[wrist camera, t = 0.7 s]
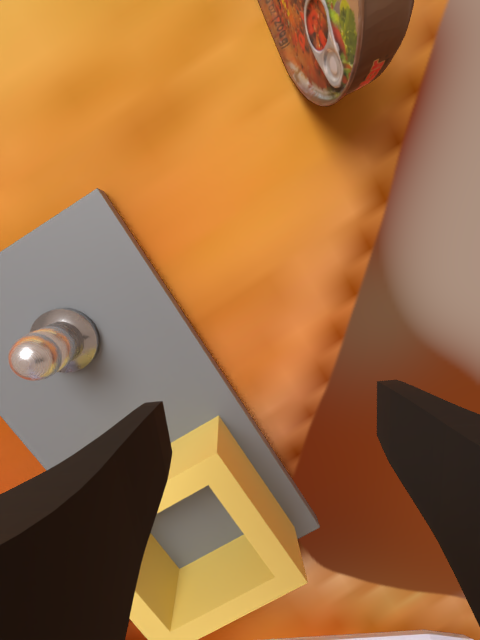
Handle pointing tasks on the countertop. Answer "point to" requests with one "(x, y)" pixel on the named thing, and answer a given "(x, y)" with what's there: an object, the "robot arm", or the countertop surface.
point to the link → (225, 562)
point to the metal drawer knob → (55, 345)
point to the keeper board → (124, 366)
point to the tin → (336, 42)
